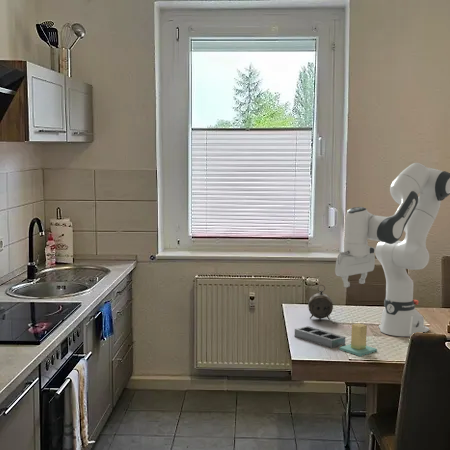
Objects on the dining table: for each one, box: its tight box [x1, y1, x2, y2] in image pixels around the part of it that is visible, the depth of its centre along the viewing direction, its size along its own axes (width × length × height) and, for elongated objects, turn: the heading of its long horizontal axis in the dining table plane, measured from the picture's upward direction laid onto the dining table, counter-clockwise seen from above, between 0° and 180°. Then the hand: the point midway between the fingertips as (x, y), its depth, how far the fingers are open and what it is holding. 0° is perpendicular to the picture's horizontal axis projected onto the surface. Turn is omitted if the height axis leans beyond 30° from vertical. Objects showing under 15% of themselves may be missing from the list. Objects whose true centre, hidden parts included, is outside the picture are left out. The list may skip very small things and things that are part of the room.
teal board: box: [339, 343, 378, 357], centre depth 247 cm, size 10×10×1 cm
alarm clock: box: [307, 284, 334, 322], centre depth 290 cm, size 11×5×16 cm, turn 84°
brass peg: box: [350, 322, 368, 350], centre depth 247 cm, size 4×4×9 cm
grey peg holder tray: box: [294, 325, 346, 349], centre depth 260 cm, size 8×20×3 cm, turn 40°
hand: (354, 285), depth 248 cm, fingers open, 8 cm apart
